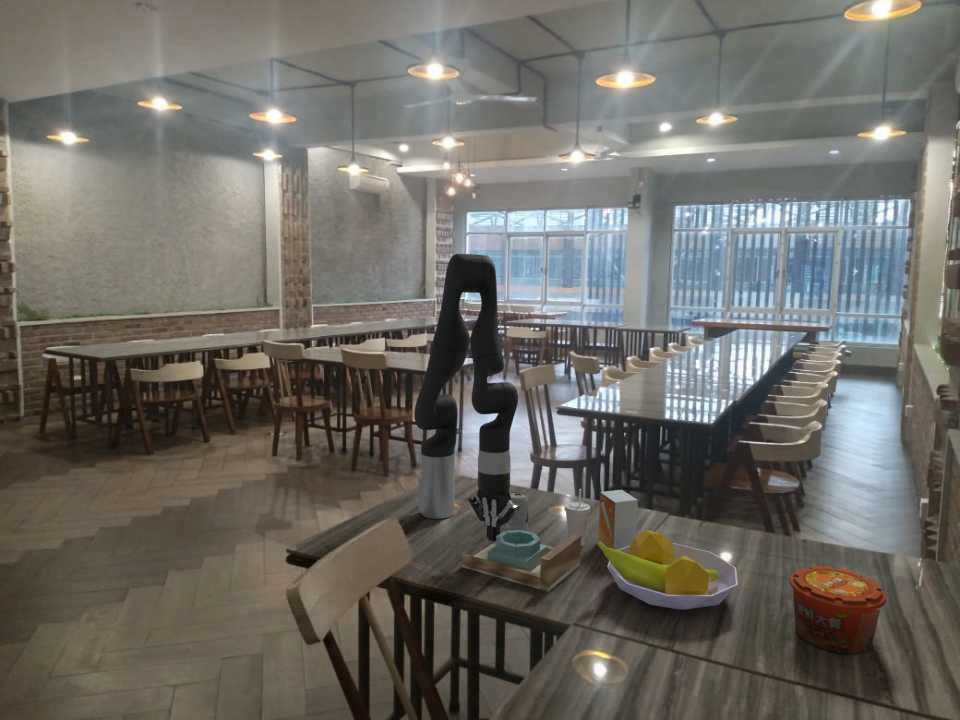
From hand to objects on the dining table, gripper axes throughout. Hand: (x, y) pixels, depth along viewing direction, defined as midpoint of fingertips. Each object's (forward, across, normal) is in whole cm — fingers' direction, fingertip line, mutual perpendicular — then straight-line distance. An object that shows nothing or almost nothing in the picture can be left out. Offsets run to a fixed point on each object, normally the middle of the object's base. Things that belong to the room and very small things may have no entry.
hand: (493, 540), depth 164 cm
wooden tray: (+5, +8, 0) cm, 9 cm away
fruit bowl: (+5, +39, +6) cm, 40 cm away
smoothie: (+5, +12, +19) cm, 23 cm away
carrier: (+3, +6, 0) cm, 7 cm away
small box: (+5, +21, +23) cm, 32 cm away
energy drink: (+5, -1, +12) cm, 13 cm away
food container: (+5, +71, +6) cm, 72 cm away
